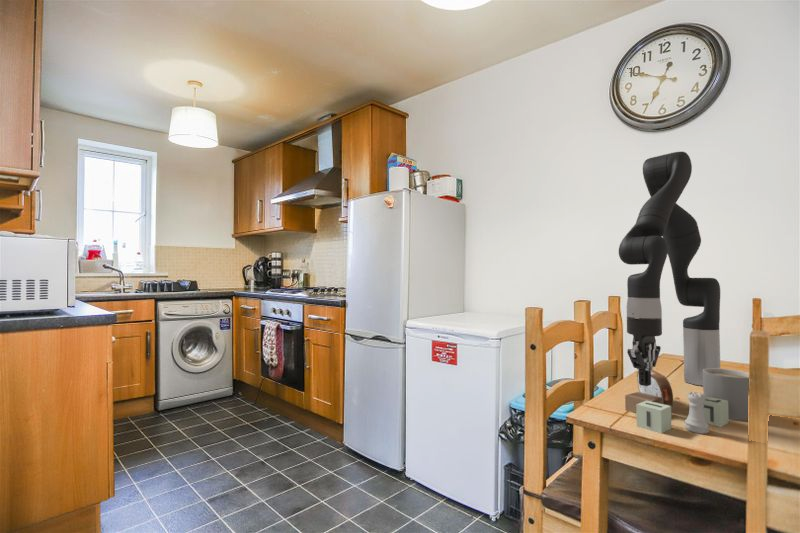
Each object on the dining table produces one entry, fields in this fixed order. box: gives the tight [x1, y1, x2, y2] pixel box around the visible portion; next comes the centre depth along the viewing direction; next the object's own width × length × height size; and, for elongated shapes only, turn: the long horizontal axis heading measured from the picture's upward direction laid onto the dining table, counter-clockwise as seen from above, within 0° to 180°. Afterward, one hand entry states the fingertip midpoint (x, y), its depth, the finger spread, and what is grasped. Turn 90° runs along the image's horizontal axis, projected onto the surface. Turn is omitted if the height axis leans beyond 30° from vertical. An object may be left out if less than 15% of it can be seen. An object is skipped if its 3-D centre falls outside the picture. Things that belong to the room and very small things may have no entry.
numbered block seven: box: [703, 396, 730, 428], centre depth 93 cm, size 5×5×5 cm
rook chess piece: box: [684, 391, 711, 435], centre depth 87 cm, size 4×4×8 cm
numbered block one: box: [635, 401, 672, 435], centre depth 89 cm, size 5×5×5 cm
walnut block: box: [624, 391, 663, 414], centre depth 99 cm, size 6×6×4 cm
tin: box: [636, 369, 674, 407], centre depth 106 cm, size 15×3×8 cm, turn 171°
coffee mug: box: [702, 367, 750, 422], centre depth 99 cm, size 13×10×10 cm
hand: (644, 385), depth 100 cm, fingers closed
